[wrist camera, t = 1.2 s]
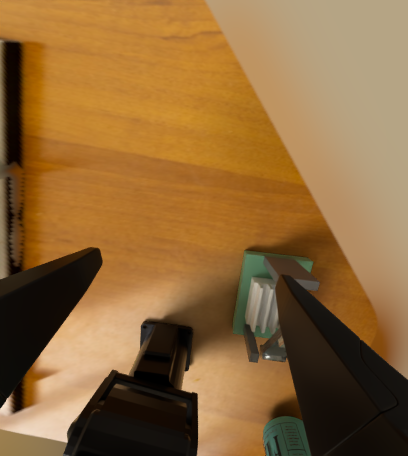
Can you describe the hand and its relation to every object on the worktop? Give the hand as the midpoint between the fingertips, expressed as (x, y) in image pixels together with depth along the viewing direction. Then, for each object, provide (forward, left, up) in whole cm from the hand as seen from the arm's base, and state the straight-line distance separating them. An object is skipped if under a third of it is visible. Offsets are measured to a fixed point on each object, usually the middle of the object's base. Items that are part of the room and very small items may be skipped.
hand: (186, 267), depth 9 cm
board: (-8, -9, -11) cm, 16 cm away
